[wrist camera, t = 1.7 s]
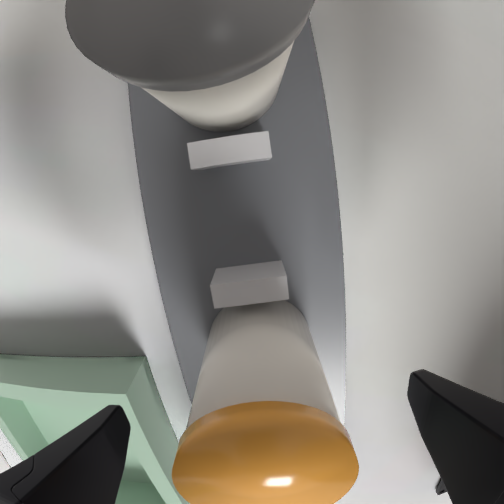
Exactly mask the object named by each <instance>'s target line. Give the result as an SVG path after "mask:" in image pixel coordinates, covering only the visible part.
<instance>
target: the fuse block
mask: <svg viewBox="0 0 504 504" xmlns="http://www.w3.org/2000/svg"><path fill="white" fill-rule="evenodd" d="M314 1H315V0H66V8H65V17H66V23H67V28H68V31H69V34H70V36H71V39H72V40H73V42H74V44H75V45H76V47H77V48H78V49H79V50H80V51H81V52H82V53H83V55H84V56H85V57H87V58H88V59H89V60H91V61H92V62H94V63H95V64H96V65H98V66H100V67H101V68H103V69H104V70H106V71H108V72H109V73H111V74H112V75H114V76H115V77H117V78H119V79H121V80H123V81H125V82H127V83H128V89H129V101H130V111H131V121H132V130H133V139H134V147H135V155H136V162H137V169H138V176H139V183H140V189H141V195H142V201H143V207H144V213H145V219H146V224H147V230H148V235H149V240H150V245H151V250H152V255H153V260H154V264H155V269H156V274H157V278H158V283H159V287H160V291H161V296H162V300H163V304H164V308H165V312H166V316H167V320H168V324H169V328H170V332H171V335H172V339H173V343H174V346H175V350H176V354H177V357H178V361H179V364H180V368H181V371H182V374H183V378H184V381H185V384H186V388H187V391H188V394H189V397H190V400H191V403H193V398H194V394H195V390H196V386H197V382H198V378H199V374H200V370H201V366H202V362H203V358H204V354H205V350H206V346H207V342H208V338H209V334H210V330H211V326H212V324H213V322H214V320H215V318H216V316H217V315H218V313H219V312H220V311H221V310H222V309H223V308H224V307H233V306H241V305H249V304H257V303H265V302H273V301H280V300H286V301H288V302H289V303H291V304H292V305H294V306H295V307H296V308H297V309H298V310H299V311H300V312H301V313H302V315H303V316H304V318H305V320H306V322H307V324H308V327H309V330H310V333H311V335H312V338H313V341H314V344H315V347H316V350H317V353H318V356H319V359H320V362H321V365H322V368H323V371H324V374H325V377H326V380H327V383H328V386H329V389H330V392H331V395H332V398H333V401H334V404H335V407H336V410H337V413H338V416H339V419H340V422H341V423H342V425H343V426H344V418H345V391H346V311H345V283H344V263H343V247H342V233H341V221H340V210H339V199H338V189H337V180H336V171H335V163H334V155H333V147H332V140H331V133H330V126H329V119H328V113H327V107H326V101H325V95H324V89H323V83H322V78H321V73H320V67H319V62H318V57H317V52H316V47H315V43H314V38H313V33H312V29H311V25H310V20H309V14H310V11H311V9H312V6H313V3H314Z"/></svg>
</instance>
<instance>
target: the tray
mask: <svg viewBox="0 0 504 504" xmlns="http://www.w3.org/2000/svg"><path fill="white" fill-rule="evenodd" d="M108 405H120V406H122V408H123V410H124V412H125V414H126V416H127V418H128V420H129V422H130V426H131V431H130V437H129V443H128V449H127V456H126V462H125V468H124V472H123V475H122V479H121V483H120V486H119V490H118V494H117V498H116V502H115V504H190V503H189V502H187V501H186V500H185V499H184V498H183V497H182V496H181V495H180V494H179V492H178V491H177V490H176V488H175V486H174V484H173V480H172V468H173V464H174V460H175V455H176V451H177V447H178V444H179V443H178V441H177V439H176V436H175V434H174V431H173V429H172V426H171V424H170V422H169V419H168V416H167V414H166V411H165V409H164V406H163V404H162V401H161V398H160V396H159V393H158V390H157V387H156V384H155V382H154V379H153V376H152V373H151V370H150V367H149V364H148V361H147V358H146V356H140V357H46V356H25V355H10V354H0V428H1V430H2V431H3V433H4V435H5V436H6V437H7V439H8V440H9V442H10V443H11V445H12V446H13V448H14V449H15V450H16V452H17V453H18V455H19V456H20V457H21V459H22V460H23V461H24V460H26V459H27V458H29V457H30V456H32V455H35V453H37V452H38V451H40V450H42V449H43V448H45V447H46V446H48V445H49V444H51V443H52V442H54V441H55V440H57V439H59V438H60V437H62V436H63V435H65V434H66V433H68V432H69V431H71V430H72V429H74V428H75V427H77V426H78V425H80V424H81V423H83V422H84V421H86V420H87V419H89V418H90V417H92V416H93V415H95V414H96V413H98V412H99V411H100V410H102V409H103V408H105V407H106V406H108Z"/></svg>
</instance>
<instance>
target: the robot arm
mask: <svg viewBox="0 0 504 504" xmlns="http://www.w3.org/2000/svg"><path fill="white" fill-rule="evenodd" d="M407 395H408V400H409V403H410V406H411V408H412V411H413V414H414V417H415V420H416V422H417V425H418V428H419V431H420V434H421V436H422V438H423V441H424V443H425V445H426V447H427V449H428V451H429V453H430V455H431V457H432V459H433V461H434V464H435V466H436V468H437V470H438V472H439V474H440V476H441V481H440V483H439V485H438V487H437V489H436V493H437V494H438V495H440V494H442V493H445V492H448V494H449V496H450V499H451V501H452V503H453V504H504V403H501V402H499V401H496V400H494V399H492V398H489V397H487V396H484V395H482V394H480V393H477V392H475V391H473V390H470V389H468V388H466V387H463V386H461V385H459V384H456V383H454V382H452V381H449V380H447V379H445V378H442V377H440V376H438V375H436V374H433V373H431V372H429V371H427V370H424V369H421V370H417V371H414V372H412V373H411V375H410V379H409V386H408V392H407ZM130 431H131V426H130V422H129V420H128V418H127V416H126V414H125V412H124V410H123V408H122V406H120V405H108V406H106V407H105V408H103V409H102V410H100V411H99V412H98V413H96V414H95V415H93V416H92V417H90V418H89V419H87V420H86V421H84V422H83V423H81V424H80V425H78V426H77V427H75V428H74V429H72V430H71V431H69V432H68V433H66V434H65V435H63V436H62V437H60V438H59V439H57V440H55V441H54V442H52V443H51V444H49V445H48V446H46V447H45V448H43V449H42V450H40V451H38V452H37V453H35V455H32V456H30V457H29V458H27V459H26V460H24V461H22V462H21V463H19V464H17V465H16V466H14V467H12V468H10V469H8V470H6V471H4V472H2V473H0V504H115V502H116V498H117V494H118V490H119V486H120V483H121V479H122V475H123V472H124V468H125V462H126V456H127V449H128V443H129V437H130Z"/></svg>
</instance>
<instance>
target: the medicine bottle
mask: <svg viewBox="0 0 504 504" xmlns="http://www.w3.org/2000/svg"><path fill="white" fill-rule="evenodd" d="M8 469H10V466H9V465H8V463H7V461H6V460H5V458H4V457H3V455H2V453H1V452H0V473H2V472H4V471H6V470H8Z"/></svg>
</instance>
